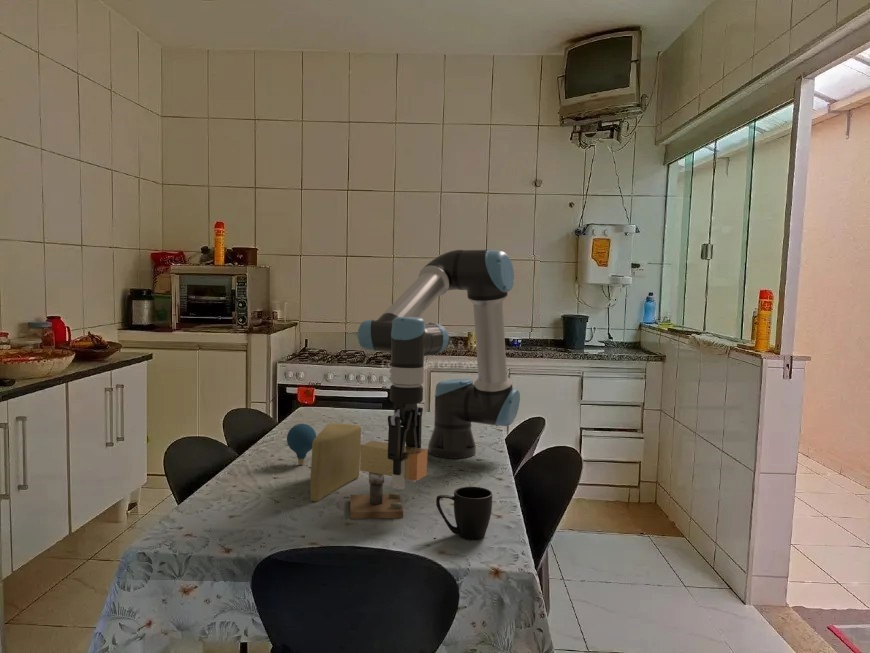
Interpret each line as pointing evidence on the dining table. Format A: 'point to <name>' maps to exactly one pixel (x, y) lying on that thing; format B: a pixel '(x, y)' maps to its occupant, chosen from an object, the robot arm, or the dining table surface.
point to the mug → (469, 511)
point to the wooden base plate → (376, 504)
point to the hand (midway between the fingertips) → (404, 484)
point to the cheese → (334, 459)
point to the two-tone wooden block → (391, 462)
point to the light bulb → (301, 440)
